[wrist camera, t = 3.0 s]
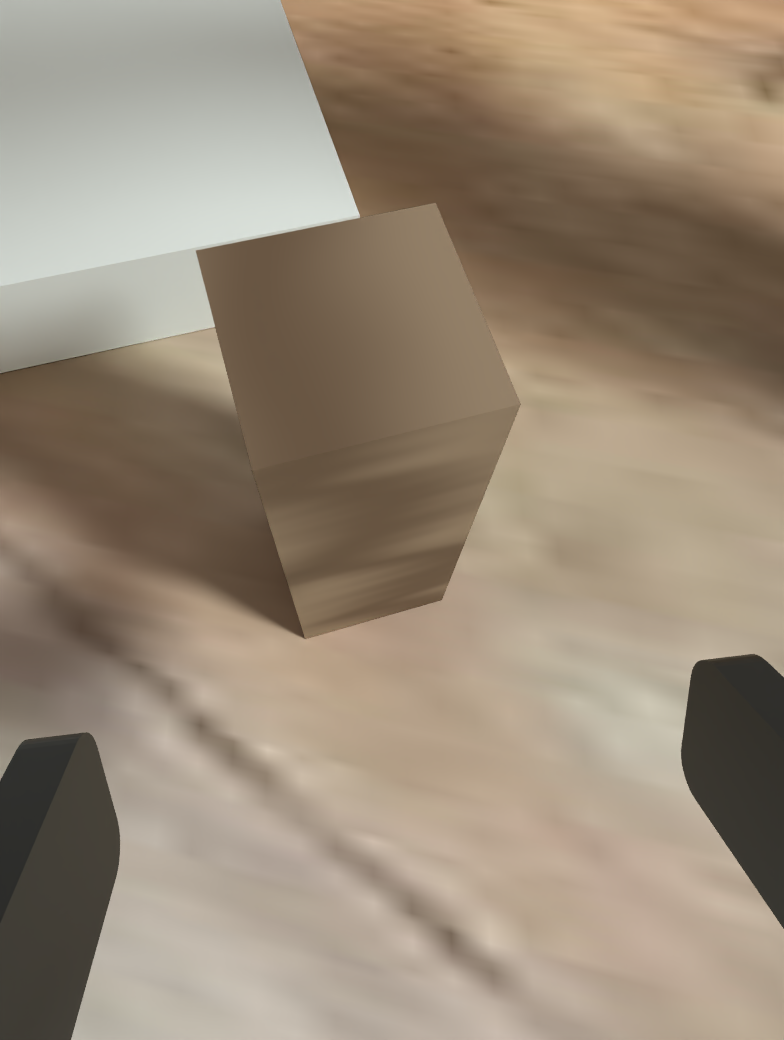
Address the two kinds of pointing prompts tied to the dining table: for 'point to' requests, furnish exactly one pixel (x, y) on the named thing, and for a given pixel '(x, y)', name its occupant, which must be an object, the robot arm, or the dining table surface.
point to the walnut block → (361, 405)
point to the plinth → (145, 163)
